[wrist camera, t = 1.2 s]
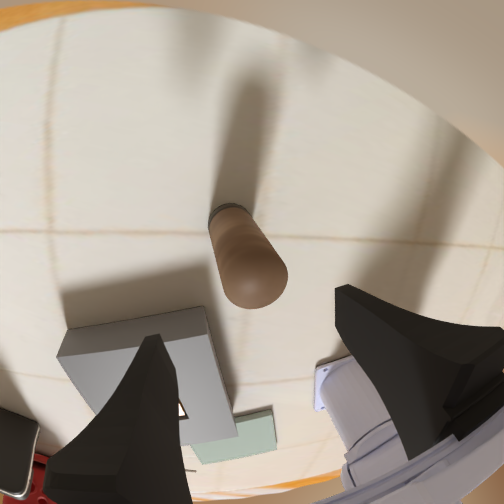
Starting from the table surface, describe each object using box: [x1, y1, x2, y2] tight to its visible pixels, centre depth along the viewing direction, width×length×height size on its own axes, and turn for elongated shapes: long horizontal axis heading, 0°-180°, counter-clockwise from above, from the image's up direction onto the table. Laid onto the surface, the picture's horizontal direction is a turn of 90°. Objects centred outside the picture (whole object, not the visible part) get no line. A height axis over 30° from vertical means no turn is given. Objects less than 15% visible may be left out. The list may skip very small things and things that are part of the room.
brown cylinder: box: [208, 204, 288, 309], centre depth 17 cm, size 3×3×8 cm
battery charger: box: [0, 408, 40, 500], centre depth 19 cm, size 7×4×11 cm, turn 69°
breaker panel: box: [56, 306, 239, 446], centre depth 24 cm, size 12×14×4 cm
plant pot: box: [3, 453, 57, 504], centre depth 24 cm, size 13×13×12 cm
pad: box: [190, 410, 277, 465], centre depth 31 cm, size 10×9×1 cm
